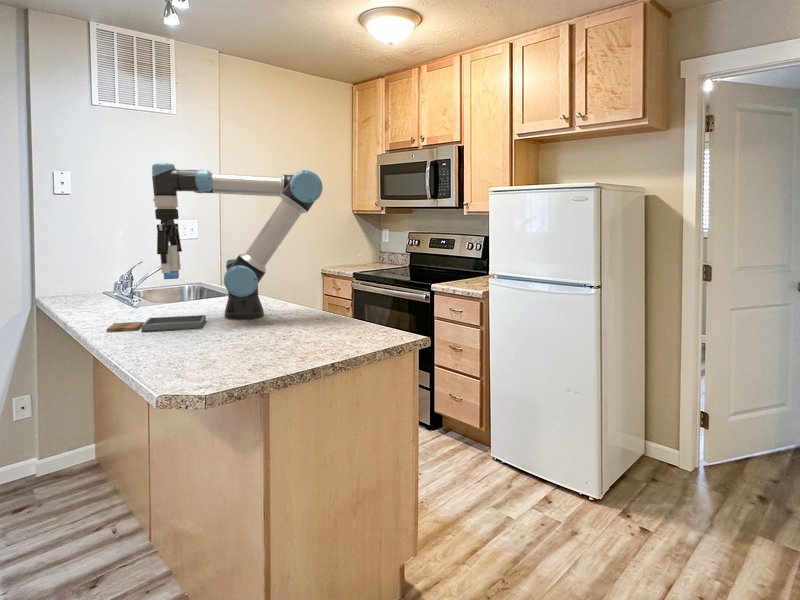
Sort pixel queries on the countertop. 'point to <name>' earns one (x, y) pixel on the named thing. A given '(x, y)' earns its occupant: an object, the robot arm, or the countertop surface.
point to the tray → (174, 323)
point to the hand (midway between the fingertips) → (171, 271)
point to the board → (125, 327)
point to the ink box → (172, 263)
